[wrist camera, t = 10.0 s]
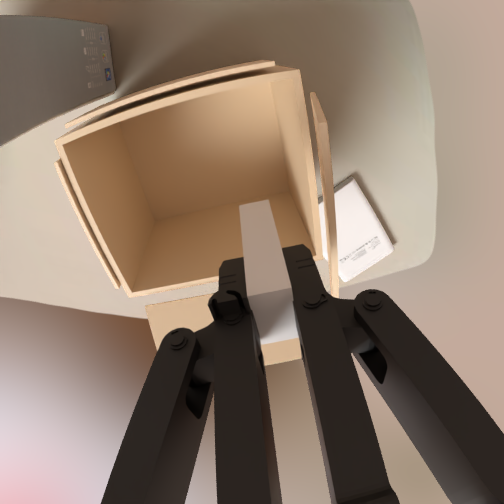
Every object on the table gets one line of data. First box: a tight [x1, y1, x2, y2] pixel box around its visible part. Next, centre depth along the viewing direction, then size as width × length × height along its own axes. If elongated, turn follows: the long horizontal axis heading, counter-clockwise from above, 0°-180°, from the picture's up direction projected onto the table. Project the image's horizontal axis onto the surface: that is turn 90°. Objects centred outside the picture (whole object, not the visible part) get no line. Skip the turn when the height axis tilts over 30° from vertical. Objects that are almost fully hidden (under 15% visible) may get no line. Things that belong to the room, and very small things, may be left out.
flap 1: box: [145, 293, 302, 365], centre depth 24 cm, size 13×7×1 cm
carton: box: [54, 60, 323, 298], centre depth 25 cm, size 16×15×12 cm
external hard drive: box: [318, 176, 394, 282], centre depth 37 cm, size 2×8×12 cm
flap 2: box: [310, 92, 339, 298], centre depth 16 cm, size 7×11×1 cm
